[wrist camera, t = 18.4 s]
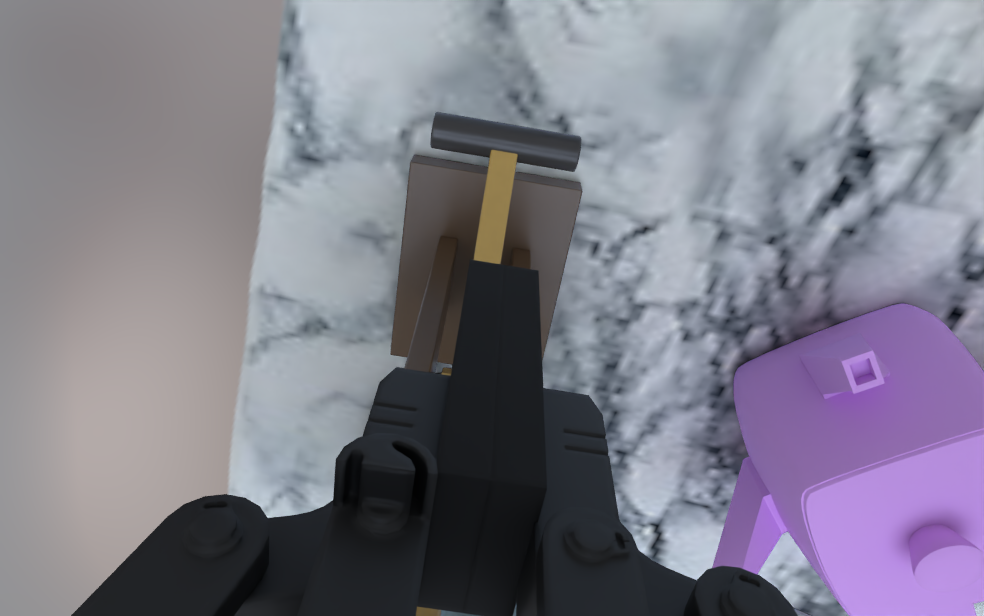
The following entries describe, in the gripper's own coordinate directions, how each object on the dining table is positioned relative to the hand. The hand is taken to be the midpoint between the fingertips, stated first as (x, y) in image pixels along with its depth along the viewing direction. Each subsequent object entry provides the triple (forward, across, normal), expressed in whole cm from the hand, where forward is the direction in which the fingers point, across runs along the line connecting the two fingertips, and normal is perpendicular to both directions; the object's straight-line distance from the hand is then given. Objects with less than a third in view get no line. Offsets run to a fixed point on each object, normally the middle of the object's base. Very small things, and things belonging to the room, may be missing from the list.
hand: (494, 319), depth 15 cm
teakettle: (+22, +23, -15) cm, 36 cm away
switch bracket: (+22, 0, -10) cm, 24 cm away
